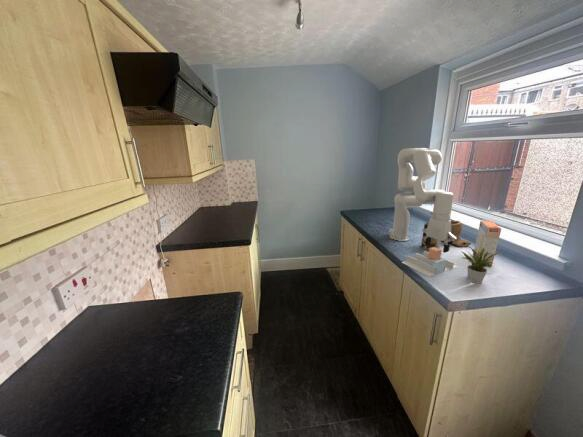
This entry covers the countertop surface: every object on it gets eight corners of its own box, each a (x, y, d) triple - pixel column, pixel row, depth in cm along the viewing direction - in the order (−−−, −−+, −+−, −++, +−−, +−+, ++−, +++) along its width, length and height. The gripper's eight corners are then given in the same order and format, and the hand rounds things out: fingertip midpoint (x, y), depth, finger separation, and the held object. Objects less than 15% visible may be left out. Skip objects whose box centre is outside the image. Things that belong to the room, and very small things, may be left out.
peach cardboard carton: (427, 262, 123) (429, 248, 121) (432, 260, 125) (434, 246, 123) (434, 265, 120) (436, 251, 118) (439, 263, 121) (441, 249, 119)
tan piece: (435, 240, 155) (439, 219, 151) (449, 238, 159) (453, 217, 155) (457, 249, 141) (461, 225, 137) (471, 246, 145) (476, 223, 141)
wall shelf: (401, 263, 124) (402, 251, 122) (428, 256, 133) (430, 244, 131) (428, 277, 110) (430, 264, 108) (457, 268, 119) (460, 255, 117)
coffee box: (420, 249, 142) (423, 224, 138) (423, 246, 147) (426, 221, 142) (437, 253, 136) (441, 227, 132) (439, 249, 141) (443, 224, 136)
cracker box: (492, 266, 119) (502, 228, 114) (478, 264, 122) (486, 226, 116) (485, 256, 131) (493, 220, 126) (472, 254, 134) (480, 219, 128)
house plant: (486, 274, 112) (493, 243, 108) (504, 290, 99) (513, 255, 95) (453, 271, 116) (459, 241, 111) (466, 286, 103) (473, 252, 98)
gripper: (420, 213, 122) (416, 244, 126) (454, 221, 106) (448, 256, 110) (430, 212, 124) (425, 242, 129) (464, 219, 109) (458, 253, 113)
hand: (436, 248), depth 120 cm, fingers open, 9 cm apart
